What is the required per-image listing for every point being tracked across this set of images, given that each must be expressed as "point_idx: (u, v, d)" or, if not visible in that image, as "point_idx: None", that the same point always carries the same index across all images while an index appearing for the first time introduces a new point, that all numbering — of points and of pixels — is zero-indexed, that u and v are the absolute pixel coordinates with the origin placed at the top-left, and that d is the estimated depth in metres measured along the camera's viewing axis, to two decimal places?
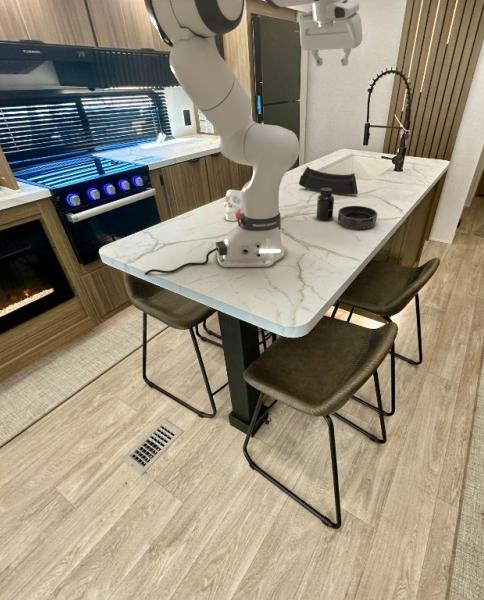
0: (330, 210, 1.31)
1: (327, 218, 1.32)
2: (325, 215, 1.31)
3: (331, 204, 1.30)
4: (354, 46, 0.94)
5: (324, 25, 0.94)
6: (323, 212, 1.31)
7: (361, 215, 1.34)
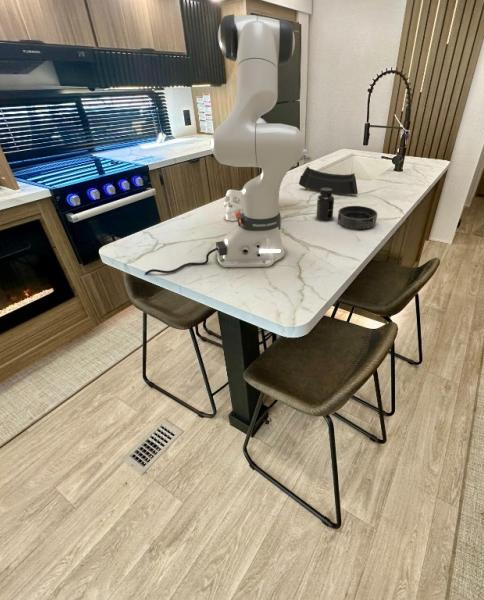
0: (330, 210, 1.31)
1: (327, 218, 1.32)
2: (325, 215, 1.31)
3: (331, 204, 1.30)
4: (306, 150, 1.36)
5: None
6: (323, 212, 1.31)
7: (361, 215, 1.34)
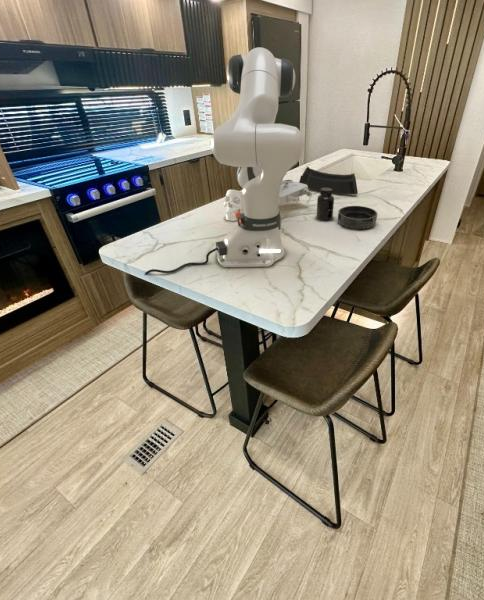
0: (330, 210, 1.31)
1: (327, 218, 1.32)
2: (325, 215, 1.31)
3: (331, 204, 1.30)
4: None
5: (285, 184, 1.40)
6: (323, 212, 1.31)
7: (361, 215, 1.34)
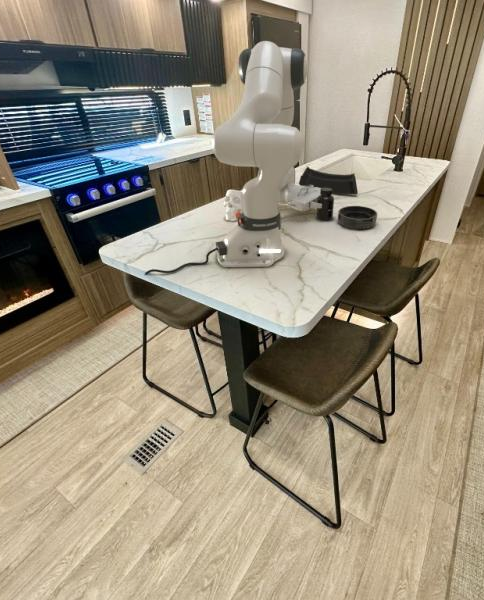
0: (330, 210, 1.31)
1: (327, 218, 1.32)
2: (325, 215, 1.31)
3: (331, 204, 1.30)
4: None
5: (306, 190, 1.35)
6: (323, 212, 1.31)
7: (361, 215, 1.34)
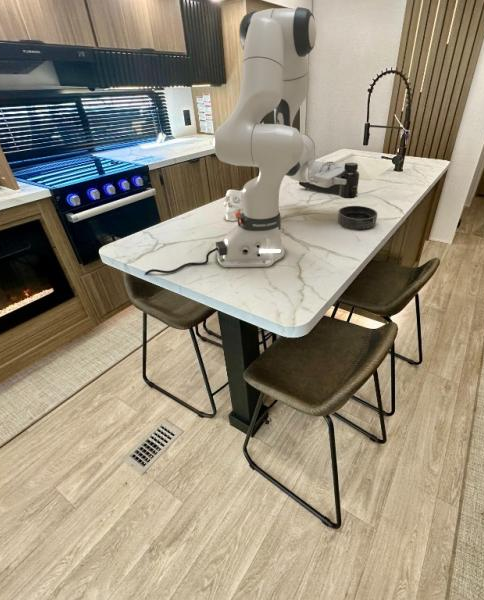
0: (354, 187, 1.22)
1: (351, 196, 1.23)
2: (350, 192, 1.22)
3: (356, 180, 1.21)
4: None
5: (328, 166, 1.26)
6: (347, 189, 1.22)
7: (361, 215, 1.34)
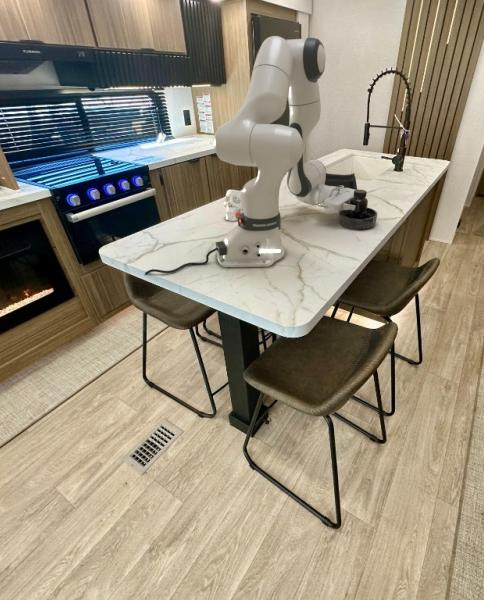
0: (363, 213, 1.26)
1: None
2: (358, 218, 1.27)
3: (365, 207, 1.25)
4: None
5: (337, 191, 1.30)
6: (356, 215, 1.26)
7: None
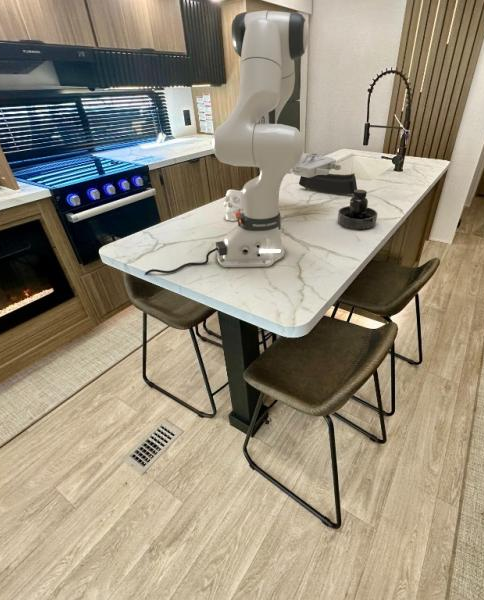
0: (363, 213, 1.26)
1: None
2: (358, 218, 1.27)
3: (365, 207, 1.25)
4: (334, 159, 1.33)
5: (311, 157, 1.30)
6: (356, 215, 1.26)
7: None
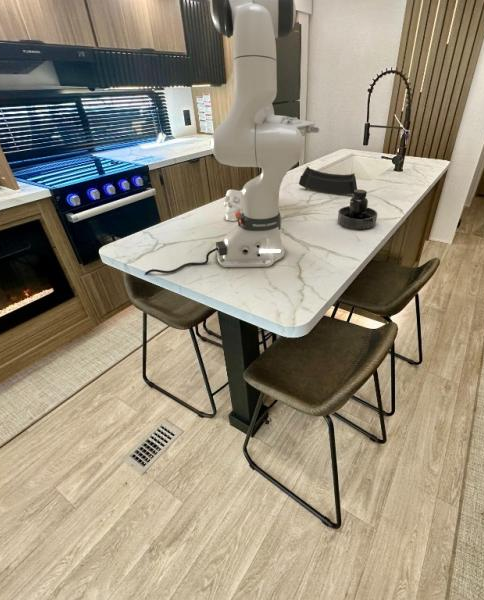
0: (363, 213, 1.26)
1: None
2: (358, 218, 1.27)
3: (365, 207, 1.25)
4: None
5: (288, 120, 1.24)
6: (356, 215, 1.26)
7: None
